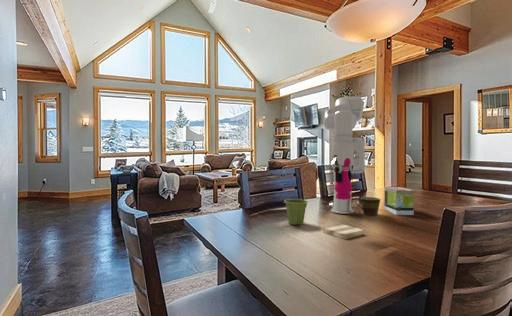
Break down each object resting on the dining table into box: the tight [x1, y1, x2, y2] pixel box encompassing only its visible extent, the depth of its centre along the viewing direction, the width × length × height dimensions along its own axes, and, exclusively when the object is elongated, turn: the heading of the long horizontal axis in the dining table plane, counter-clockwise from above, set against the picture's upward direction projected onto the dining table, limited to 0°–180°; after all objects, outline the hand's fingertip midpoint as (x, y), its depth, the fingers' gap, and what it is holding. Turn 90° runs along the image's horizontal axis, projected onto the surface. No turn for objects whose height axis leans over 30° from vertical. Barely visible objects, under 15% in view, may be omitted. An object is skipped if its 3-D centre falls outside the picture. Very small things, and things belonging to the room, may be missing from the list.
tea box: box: [384, 186, 415, 216], centre depth 161 cm, size 15×10×15 cm
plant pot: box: [284, 198, 309, 226], centre depth 141 cm, size 12×12×11 cm
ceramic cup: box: [354, 196, 381, 217], centre depth 155 cm, size 13×10×10 cm
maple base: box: [322, 223, 365, 240], centre depth 123 cm, size 12×12×2 cm
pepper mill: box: [335, 158, 353, 200], centre depth 122 cm, size 7×7×20 cm
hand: (343, 181), depth 122 cm, fingers closed on pepper mill, 5 cm apart
